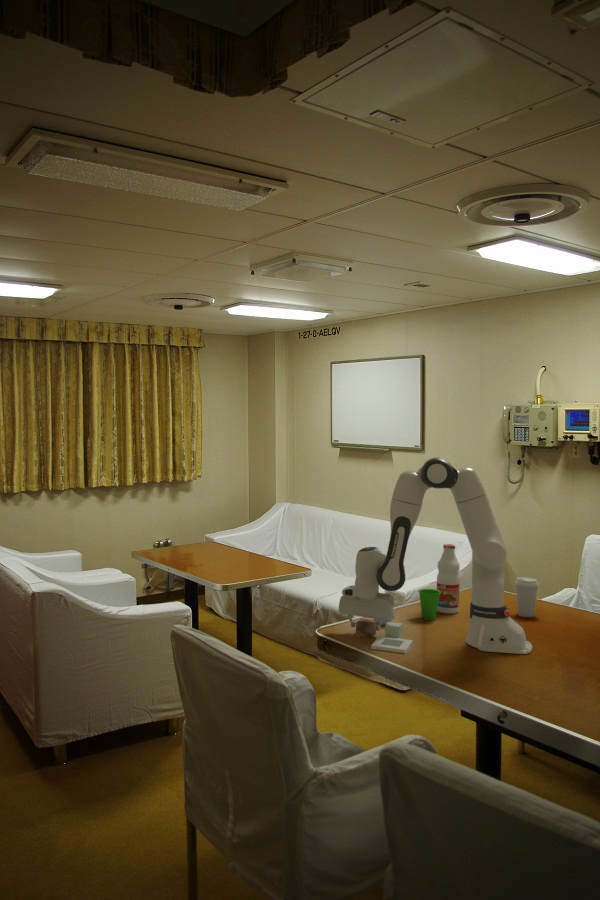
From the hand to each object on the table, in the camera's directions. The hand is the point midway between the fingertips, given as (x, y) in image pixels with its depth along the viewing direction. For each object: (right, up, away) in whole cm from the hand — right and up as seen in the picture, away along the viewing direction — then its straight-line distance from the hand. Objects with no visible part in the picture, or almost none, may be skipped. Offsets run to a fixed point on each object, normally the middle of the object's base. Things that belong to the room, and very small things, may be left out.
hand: (365, 628), depth 247 cm
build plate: (+8, -3, -13) cm, 15 cm away
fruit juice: (+38, -3, +37) cm, 53 cm away
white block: (+8, -2, +15) cm, 17 cm away
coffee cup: (+70, -3, +33) cm, 77 cm away
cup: (+28, -3, +24) cm, 37 cm away
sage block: (+10, -3, -3) cm, 11 cm away
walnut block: (0, -2, 0) cm, 2 cm away
